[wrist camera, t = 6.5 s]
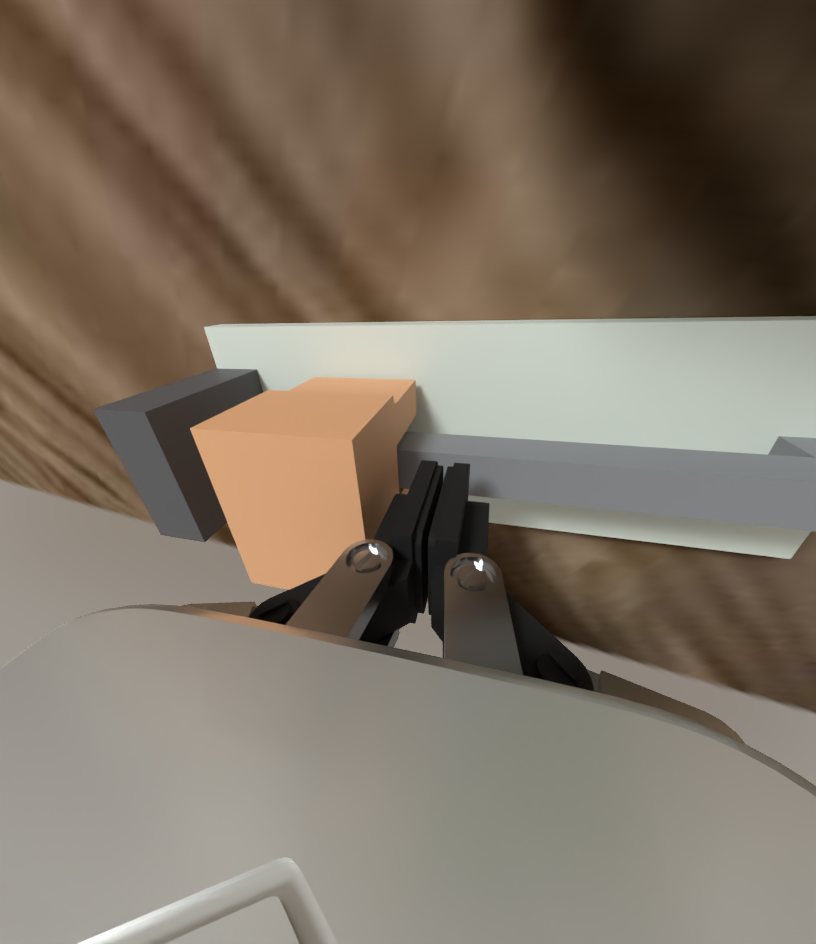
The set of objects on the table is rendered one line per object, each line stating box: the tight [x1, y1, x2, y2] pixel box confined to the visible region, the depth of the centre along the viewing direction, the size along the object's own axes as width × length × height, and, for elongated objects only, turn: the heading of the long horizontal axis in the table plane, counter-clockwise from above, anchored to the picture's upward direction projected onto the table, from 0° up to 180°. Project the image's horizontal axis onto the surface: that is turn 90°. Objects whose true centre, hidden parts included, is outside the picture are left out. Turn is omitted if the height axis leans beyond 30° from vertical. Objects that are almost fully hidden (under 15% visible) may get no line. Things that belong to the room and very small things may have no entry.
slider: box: [190, 377, 417, 590], centre depth 14 cm, size 5×6×7 cm
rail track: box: [93, 316, 816, 559], centre depth 13 cm, size 28×10×8 cm, turn 92°
